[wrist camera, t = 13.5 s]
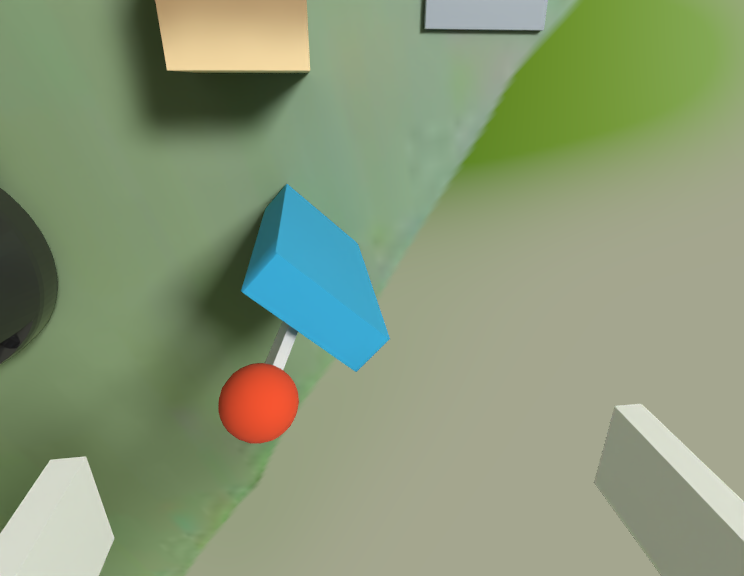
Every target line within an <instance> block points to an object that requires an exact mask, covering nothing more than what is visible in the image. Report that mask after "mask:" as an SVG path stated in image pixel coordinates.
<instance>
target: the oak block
mask: <svg viewBox="0 0 744 576" xmlns="http://www.w3.org/2000/svg"><path fill="white" fill-rule="evenodd" d="M155 2H156V8H157V14H158V20H159V26H160V32H161V37H162V43H163V49H164V55H165V61H166V67H167V70H169V71H181V72H193V73H309V71H310V59H309V40H308V21H307V1H306V0H155Z"/></svg>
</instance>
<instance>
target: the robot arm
mask: <svg viewBox="0 0 744 576" xmlns="http://www.w3.org/2000/svg"><path fill="white" fill-rule="evenodd" d="M57 289H58V281H57V272H56V267H55V263H54V259H53V256H52V253H51V251H50V248H49V246H48V244H47V242H46V240H45V238H44V236H43V235H42V233H41V231H40V230H39V228H38V227H37V225H36V224H35V222H34V221H33V220H32V218H31V217H30V216H29V215H28V214H27V212H26V211H25V210H24V209H23V208H22V207H21V206H20V205H19V204H18V203H17V202H16V201H15V200H14V199H13V198H12V197H11V196H10V195H8V194H7V193H6V192H5V191H4V190H2V189H1V188H0V364H2V363H3V362H5V361H7V360H8V359H10V358H11V357H13V356H14V355H16V354H17V353H18V352H19V351H20V350H22V349H23V348H24V347H25V346H26V345H27V344H28V343H29V342H30V341H31V340H32V339H33V338H34V337H35V336H36V335H37V334H38V333H39V332H40V331H41V330H42V329H43V328H44V326H45V325H46V323H47V322H48V320H49V318H50V316H51V314H52V312H53V309H54V306H55V303H56V298H57ZM594 483H595V485H596V486H597V487H598V489H599V490H600V492H601V493H602V494H603V496H604V497H605V499H606V500H607V501H608V503H609V504H610V506H611V507H612V508H613V510H614V511H615V512H616V514H617V515H618V517H619V518H620V519H621V521H622V522H623V524H624V525H625V526H626V528H627V529H628V530H629V532H630V533H631V535H632V536H633V537H634V539H635V540H636V542H637V543H638V544H639V546H640V547H641V548H642V550H643V551H644V553H645V554H646V555H647V557H648V558H649V560H650V561H651V562H652V564H653V565H654V567H655V568H656V569H657V571H658V572H659V573H660V575H661V576H744V501H743V500H742V499H741V498H739V497H738V496H737V495H736V494H735V493H734V492H733V491H732V490H731V489H730V488H729V487H728V486H727V485H726V484H725V483H724V482H723V481H722V480H721V479H720V478H719V477H717V476H716V475H715V474H714V473H713V472H712V471H711V470H710V469H709V468H708V467H707V466H706V465H705V464H704V463H703V462H702V461H701V460H700V459H699V458H698V457H697V456H696V455H695V454H693V453H692V452H691V451H690V450H689V449H688V448H687V447H686V446H685V445H684V444H683V443H682V442H681V441H680V440H679V439H678V438H677V437H676V436H675V435H674V434H672V433H671V432H670V431H669V430H668V429H667V428H666V427H665V426H664V425H663V424H662V423H661V422H660V421H659V420H658V419H657V418H656V417H655V416H654V415H653V414H652V413H651V412H650V411H648V410H647V409H646V408H645V407H644V406H643V405H642V404H633V405H623V406H615V407H614V411H613V414H612V418H611V422H610V426H609V429H608V433H607V437H606V440H605V444H604V448H603V451H602V455H601V459H600V463H599V466H598V470H597V473H596V477H595V481H594ZM113 540H114V536H113V533H112V530H111V527H110V524H109V521H108V519H107V516H106V513H105V510H104V507H103V504H102V501H101V498H100V495H99V492H98V490H97V487H96V484H95V481H94V478H93V475H92V472H91V469H90V466H89V464H88V461H87V458H86V456H85V457H74V458H64V459H53V460H50V461H49V462H48V464H47V465H46V467H45V468H44V470H43V471H42V473H41V474H40V476H39V477H38V479H37V480H36V482H35V483H34V485H33V486H32V488H31V489H30V490H29V492H28V493H27V495H26V496H25V498H24V499H23V501H22V502H21V504H20V505H19V507H18V508H17V510H16V511H15V513H14V514H13V516H12V517H11V519H10V520H9V522H8V523H7V525H6V526H5V528H4V529H3V530H2V532H1V533H0V576H99V574H100V571H101V569H102V567H103V564H104V562H105V559H106V557H107V555H108V552H109V550H110V547H111V545H112V543H113Z"/></svg>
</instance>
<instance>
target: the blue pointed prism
mask: <svg viewBox="0 0 744 576" xmlns="http://www.w3.org/2000/svg"><path fill="white" fill-rule="evenodd" d="M241 291H242V293H244V294H245V295H247V296H248V297H250V298H251V299H252V300H254V301H255V302H257V303H258V304H260V305H261V306H262V307H264V308H265V309H267V310H268V311H270V312H271V313H272V314H274V315H275V316H277V317H278V318H280V319H281V320H282V324H281V326H280V328H279V331H278V333H277V335H276V338H275V340H274V342H273V345H272V347H271V350H270V352H269V354H268V357H267V359H266V361H265V364H264V363H256V364H250V365H248V366H245V367H243V368H241V369H239V370H238V371H236V372H235V373H233V374H232V376H231V377H230V378H229V379H228V381H227V382H226V383H225V385H224V386H223V388H222V390H221V394H220V397H219V415H220V419H221V421H222V423H223V425H224V427H225V428H226V429H227V431H228V432H229V433H231V434H232V435H233V436H234V437H236V438H237V439H239V440H242V441H245V442H248V443H264V442H268V441H271V440H274V439H276V438H277V437H279V436H280V435H281V434H283V433H284V432H285V431H286V430H287V429H288V428H289V427H290V426H291V424H292V422H293V420H294V418H295V416H296V413H297V409H298V403H299V400H298V392H297V388H296V386H295V384H294V382H293V380H292V379H291V377H290V376H289V375H288V374H287V373H285V372H284V371H283V369H284V367H285V364H286V361H287V359H288V356H289V353H290V351H291V348H292V346H293V343H294V340H295V338H296V335H297V333H298V332H300V333H301V334H302V335H304V336H305V337H307V338H308V339H310V340H311V341H312V342H314V343H315V344H317V345H318V346H320V347H321V348H322V349H324V350H325V351H327V352H328V353H330V354H331V355H332V356H334V357H335V358H337V359H338V360H340V361H341V362H342V363H344V364H345V365H347V366H348V367H350V368H351V369H353V370H354V371H356V372H357V371H358V370H359V369H360V368H361V367H362V366H363V365H364V364H365V363H366V362H367V361H368V360H369V359H370V358H371V357H372V356H373V355H374V354H375V353H376V352H377V351H378V350H379V349H380V348H381V347H382V346H383V345H384V344H385V343H386V342H387V341H388V340H389V339H390V338H389V335H388V332H387V329H386V326H385V323H384V320H383V317H382V314H381V311H380V308H379V305H378V302H377V299H376V296H375V293H374V290H373V287H372V284H371V281H370V278H369V275H368V272H367V269H366V266H365V264H364V261H363V258H362V255H361V252H360V249H359V246H358V244H357V243H356V242H355V241H354V240H353V239H352V238H350V237H349V236H348V235H347V234H346V233H345V232H343V231H342V230H341V229H340V228H339V227H337V226H336V225H335V224H334V223H333V222H332V221H330V220H329V219H328V218H327V217H326V216H324V215H323V214H322V213H321V212H320V211H319V210H317V209H316V208H315V207H314V206H313V205H311V204H310V203H309V202H308V201H307V200H305V199H304V198H303V197H302V196H301V195H300V194H298V193H297V192H296V191H295V190H294V189H292V188H291V187H290V186H289V185H288V184H286V185H285V186H284V187H283V189H282V190H281V191H280V192H279V193H278V195H277V196H276V197H275V198H274V199H273V200H272V202H271V203H270V204H269V205H268V206H267V207H266V209H265V212H264V215H263V219H262V222H261V225H260V229H259V232H258V235H257V239H256V242H255V246H254V249H253V252H252V256H251V259H250V262H249V266H248V269H247V273H246V276H245V279H244V283H243V286H242V290H241Z"/></svg>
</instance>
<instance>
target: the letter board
mask: <svg viewBox="0 0 744 576" xmlns="http://www.w3.org/2000/svg"><path fill="white" fill-rule="evenodd" d="M547 2H548V0H425V14H424V29H445V30H526V31H542V30H544V25H545V17H546V10H547Z"/></svg>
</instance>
